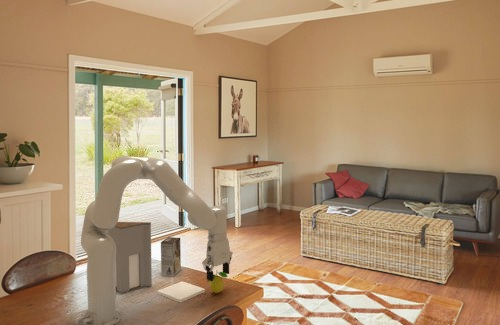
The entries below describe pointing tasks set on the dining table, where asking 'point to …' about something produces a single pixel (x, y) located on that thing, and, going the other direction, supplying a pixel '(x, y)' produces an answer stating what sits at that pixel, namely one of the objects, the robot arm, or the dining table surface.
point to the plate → (181, 291)
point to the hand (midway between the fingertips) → (218, 276)
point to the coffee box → (170, 256)
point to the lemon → (217, 282)
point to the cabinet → (132, 255)
